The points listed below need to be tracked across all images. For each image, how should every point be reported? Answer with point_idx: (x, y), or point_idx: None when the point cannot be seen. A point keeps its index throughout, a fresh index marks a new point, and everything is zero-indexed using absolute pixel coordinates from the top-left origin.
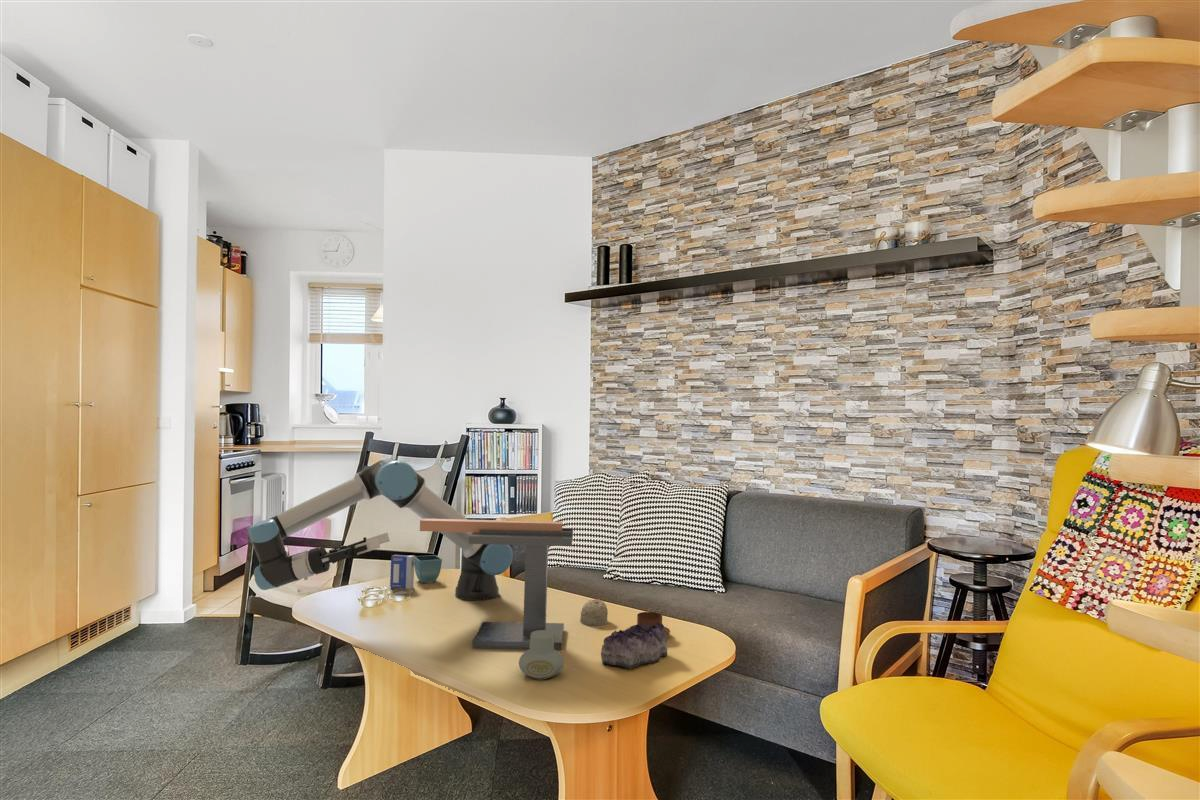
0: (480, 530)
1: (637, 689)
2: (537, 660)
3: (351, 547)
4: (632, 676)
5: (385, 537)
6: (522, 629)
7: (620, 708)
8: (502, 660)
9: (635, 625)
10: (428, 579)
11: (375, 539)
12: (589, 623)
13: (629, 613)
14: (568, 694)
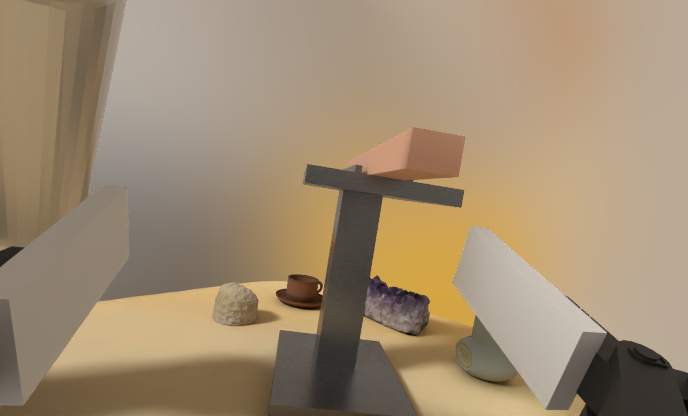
0: None
1: (470, 332)
2: None
3: (657, 357)
4: (438, 328)
5: (119, 229)
6: (322, 363)
7: None
8: (455, 400)
9: (370, 286)
10: None
11: (494, 234)
12: (253, 319)
13: (194, 295)
14: None
